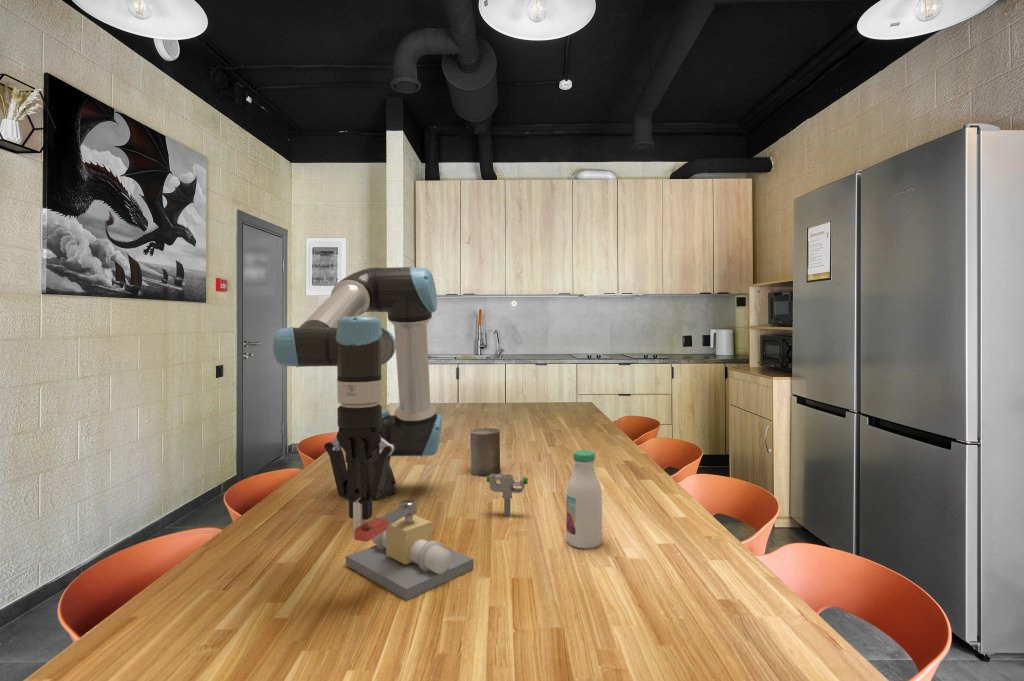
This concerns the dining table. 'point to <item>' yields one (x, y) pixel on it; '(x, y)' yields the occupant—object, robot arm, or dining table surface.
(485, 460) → the pillar candle
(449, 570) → the pipe valve base
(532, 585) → the dining table surface
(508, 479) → the mechanical component
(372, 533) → the valve lever
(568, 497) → the milk bottle
